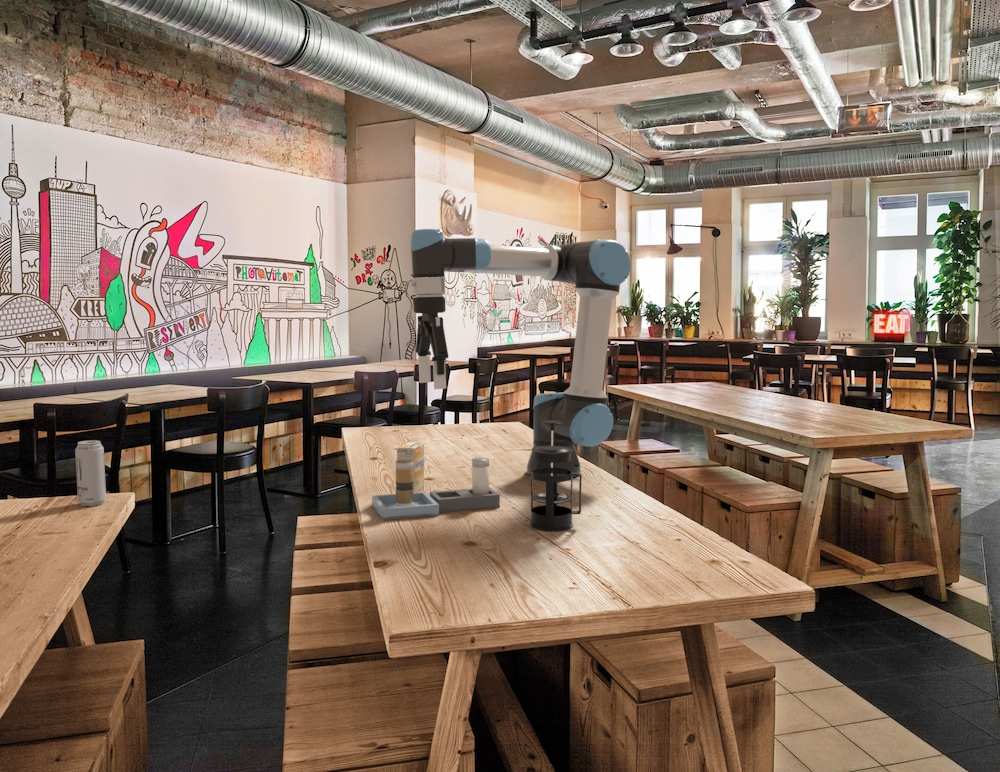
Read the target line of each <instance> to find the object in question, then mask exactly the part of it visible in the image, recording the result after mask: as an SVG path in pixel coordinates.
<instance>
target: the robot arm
mask: <svg viewBox="0 0 1000 772" xmlns="http://www.w3.org/2000/svg"><path fill="white" fill-rule="evenodd" d="M410 237H411V238H410V253H411V267H412V268H411V270H412V282H410V286H411V287H412V292H413V293H412V294H413V295H415V297H413V298H412V299H413V300H412V302H413V303H412V304H413V312H414V313H415V314H421V315H418V316H417V329H416V330H417V331H416V332H417V333H416V344H415V353H417V355H418V381H419V384H424V383H431V381H432V380H431V361H432V366H433V367H432V368H433V371H432V372H433V390H442V389H443V390H444V389H447V372H446V360H447V359H448V358H449V353H448V347H447V341H446V334H445V328H444V318H443V317H442V316H441V317H440V316H439V315H438V314H440V313H441V314H442V313H445V312H446V298H445V296H444V295H445V294H446V277H445V273H447V272H448V273H449V272H450V273H472V274H489V275H490V274H491V275H494V274H495V275H509V276H510V275H511V276H528V277H530V276H531V277H541V278H542V280H544V281H552V282H558V283H559V282H561V283H565V284H571V285H575V286H574V288H575V289H574V290H575V291H576V293H577V295H578V296H579V303H578V312H577V321H576V331H575V338H574V349H573V357H572V358H573V359H572V367H571V374H570V384H569V387H568V388H567V389H566V390H564V391H563V392H550V393H549V392H547V393H537V394H536V395H535V396H534V398H533V406H532V410H533V430H532V431H533V435H532V436H533V446H532V448H534V447H538V446H551V434H552V431H551V430H550V425H546V424H543V422H545V421H559V422H562V424H560V425H555V430H554V431H553V446H563V447H569V448H571V449H573V452H572V453H571V460H570V461H567V462H561V463H553V467H558V468H565V469H569V470H571V471H572V472H573V473H581V463H580V459H579V457H578V454H577V449H576V446H575V445H577V446H579V447H582V446H583V447H588V448H589V447H597V446H598V445H600V444H602V443H604V441H605V440H607V439H608V437H609V436H610V435H611V432H612V430H613V427H614V416H613V413H612V412H611V409H610V408H609V407H608V406H607V403H608V395H607V394H606V393H605V392H604V390H603V388H604V381H605V380H604V378H605V372H606V371H605V369H606V362H607V361H606V360H607V352H608V343H609V342H608V341H609V334H610V325H611V314H612V307H613V300H614V299H615V298H616V297H617V296H618V295H619V294H620V289H621V288H620V287H621V284H623V283H624V282H625V281H626V279H628V277H629V275H630V273H631V269H632V265H631V263H632V261H631V258H630V254H629V252H628V251H627V250H626V248H625V246H624V245H622V244H621V243H620V242H618V241H617V240H613V239H603V238H601V239H597V240H589V241H578V242H572V243H567V244H566V243H565V244H559V245H557V244H556V245H555V244H553V245H552V244H547V245H544V247H529V246H516V245H515V246H514V245H500V244H499V245H496V244H490V243H489V242H488V240H487V239H485V238H478V237H472V238H471V237H469V238H467V237H463V238H460V237H459V238H448V237H445V236H444V231H443V230H442V229H438V228H422V229H420V228H419V229H415V230H413V231H412V232H411V236H410ZM430 348H431V351H432V352H431V351H430ZM432 354H433V355H432ZM431 355H432V357H431ZM543 467H551V463H546V462H540V461H538V460H537V459H536V457H535V455H534V452H532V451H531V453H530V455H529V458H528V461H527V464H526V473H527V475H528V476H531V471H532V470H533V469H536V468H543ZM538 475H545V476H550V473H542V474H538ZM562 475H565V474H558V473H557V476H562ZM576 477H577V476H573V478H576Z"/></svg>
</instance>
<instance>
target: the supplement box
mask: <svg viewBox="0 0 1000 772" xmlns="http://www.w3.org/2000/svg"><path fill="white" fill-rule="evenodd" d="M398 460H412V461H413V493H414V492H425V443H424V442H406V443H404V444H402V445H400V446H399V447H398V446H397V447H396V461H398Z"/></svg>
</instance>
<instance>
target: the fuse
mask: <svg viewBox="0 0 1000 772" xmlns="http://www.w3.org/2000/svg"><path fill="white" fill-rule="evenodd" d="M471 468H472V469H471V470H472V471H471V474H472V475H471V482H472V483H471V487H472V488H471V489H472V494H473V495H483V494H489V487H490V459H489V458H488V457H473V458H472V459H471Z"/></svg>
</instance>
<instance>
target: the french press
mask: <svg viewBox="0 0 1000 772" xmlns="http://www.w3.org/2000/svg"><path fill="white" fill-rule="evenodd" d="M543 424H546V425H550V430H551V431H552V434H551V446H538V447H534V448H533V447H532V448H531V452H534V455H535V457H536V459H537V460H538V461H540V462H546V463H551V467H543V468H536V469H533V470H532V471H531V475H530V477H531V478H530V480H531V483H530V485H531V486H530V488H531V489H530V522H529V527H531V528H532V529H535V530H537V531H544V532H562V531H567V530H570V529H572V528H573V527H574V523H573V515H581V513H582V478H583V477H582V472H580V473H573V472H572V471H571V470H569V469H565V468H558V467H553V463H561V462H567V461H570V460H571V453H572V452H573V449H571V448H569V447H563V446H553V431H554V430H555V425H560V424H562V422H559V421H545V422H543ZM542 473H550V476H545V475H538V474H542ZM557 473H558V474H565V475H562V476H557ZM573 476H576V477H579V481H578V483H579V485H578V486H579V492H578V497H579V498H578V510H573V478H574V477H573ZM534 480H535V481H537V482H538V481H539V482H544V483H545V491H544V492H538V493H535V494H534V492H533V491H534ZM567 481H570V495H569V494H567V493H563V492H558V483H561V482H562V483H563V482H567ZM534 501H535V502H536V503H539V504H544V505H537V506H534V505H533V504H534ZM569 502H570V508H569V507H567V506H564V505H558V504H565V503H569Z"/></svg>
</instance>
